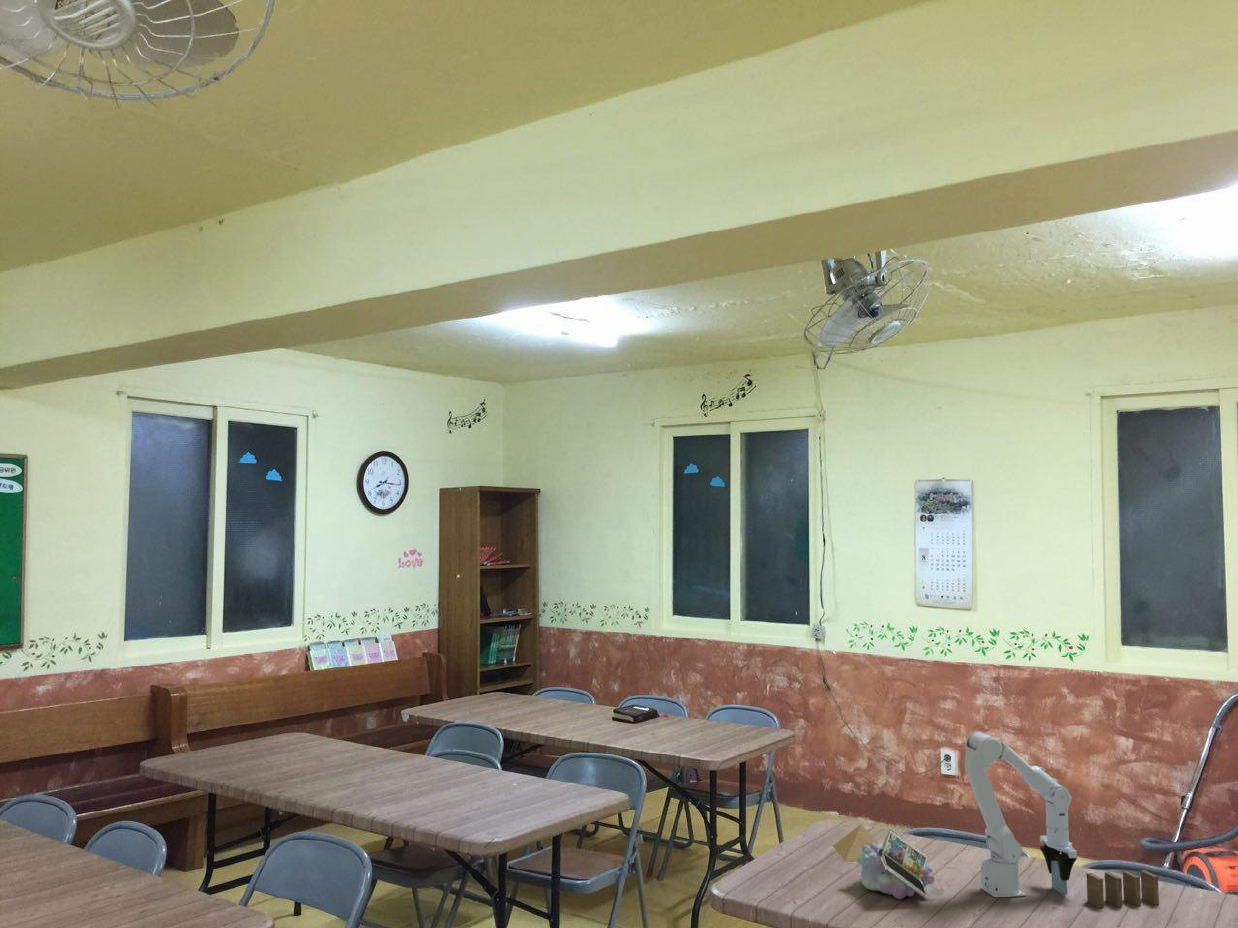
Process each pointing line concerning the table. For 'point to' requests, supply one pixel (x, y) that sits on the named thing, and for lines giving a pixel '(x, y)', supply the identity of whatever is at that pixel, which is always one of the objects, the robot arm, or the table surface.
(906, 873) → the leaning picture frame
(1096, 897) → the domino
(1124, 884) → the domino
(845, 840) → the model pyramid
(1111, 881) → the domino
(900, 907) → the table surface
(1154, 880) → the domino
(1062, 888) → the domino
